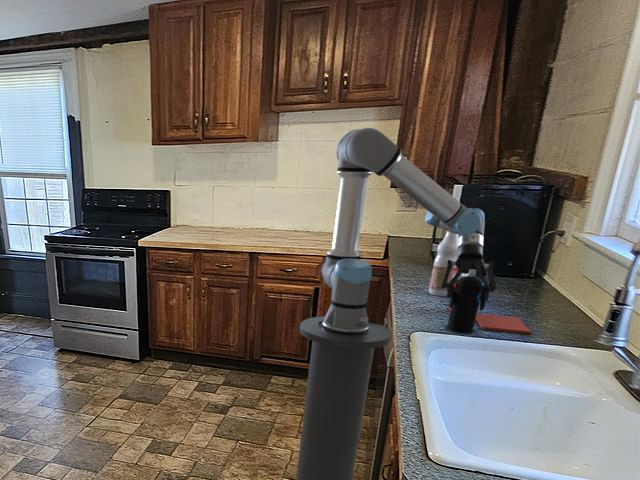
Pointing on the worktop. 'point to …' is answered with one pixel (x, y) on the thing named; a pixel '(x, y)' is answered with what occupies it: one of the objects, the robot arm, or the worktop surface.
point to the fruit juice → (444, 263)
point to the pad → (502, 324)
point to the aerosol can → (465, 303)
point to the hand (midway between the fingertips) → (466, 306)
